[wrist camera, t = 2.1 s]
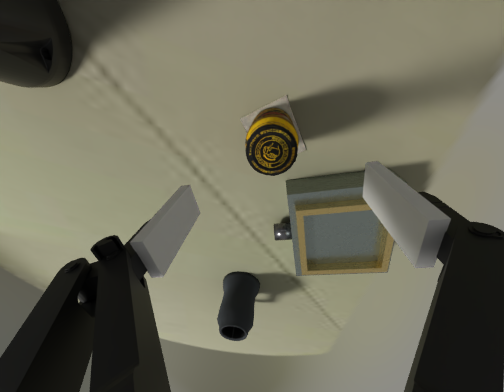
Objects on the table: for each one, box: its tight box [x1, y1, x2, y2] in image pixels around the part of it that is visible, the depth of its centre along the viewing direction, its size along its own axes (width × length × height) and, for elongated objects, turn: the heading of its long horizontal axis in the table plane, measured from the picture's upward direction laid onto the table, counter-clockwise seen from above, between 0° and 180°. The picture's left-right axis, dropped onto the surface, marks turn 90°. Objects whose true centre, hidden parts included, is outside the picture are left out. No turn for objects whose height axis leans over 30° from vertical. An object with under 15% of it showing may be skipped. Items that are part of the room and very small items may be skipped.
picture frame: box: [274, 168, 407, 276], centre depth 35 cm, size 18×19×6 cm
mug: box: [217, 271, 260, 341], centre depth 45 cm, size 12×9×11 cm
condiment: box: [240, 95, 306, 176], centre depth 25 cm, size 7×8×12 cm
